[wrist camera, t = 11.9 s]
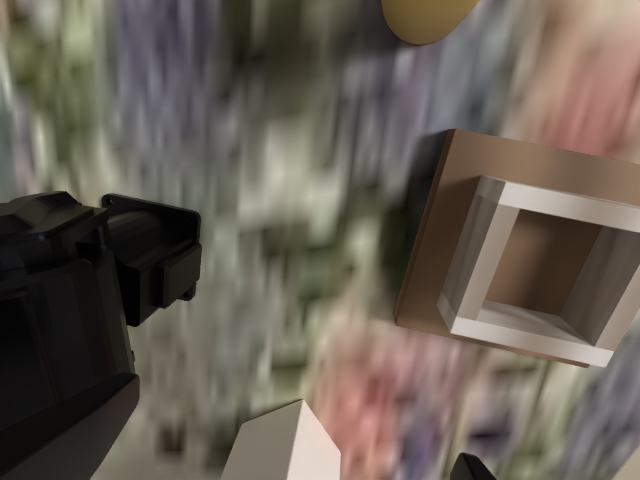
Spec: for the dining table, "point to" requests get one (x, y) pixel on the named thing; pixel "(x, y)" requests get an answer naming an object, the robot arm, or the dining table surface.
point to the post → (424, 18)
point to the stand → (526, 250)
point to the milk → (283, 448)
